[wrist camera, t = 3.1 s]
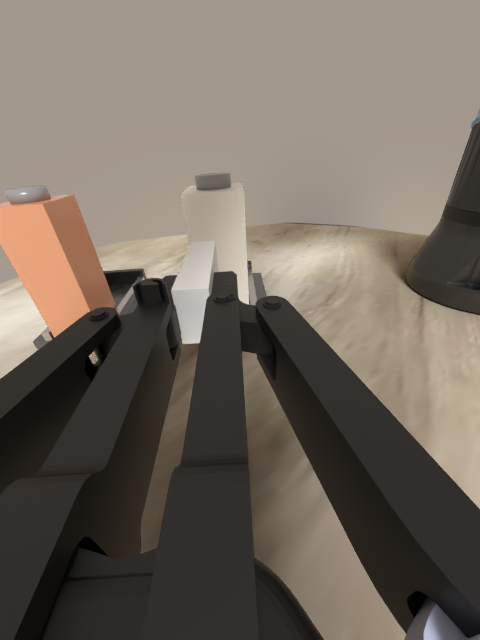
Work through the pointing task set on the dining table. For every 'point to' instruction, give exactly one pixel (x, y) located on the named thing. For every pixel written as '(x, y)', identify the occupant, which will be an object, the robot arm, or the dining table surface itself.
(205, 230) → the white square bottle
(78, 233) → the orange square bottle
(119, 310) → the dark grey divided tray
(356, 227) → the dining table surface
